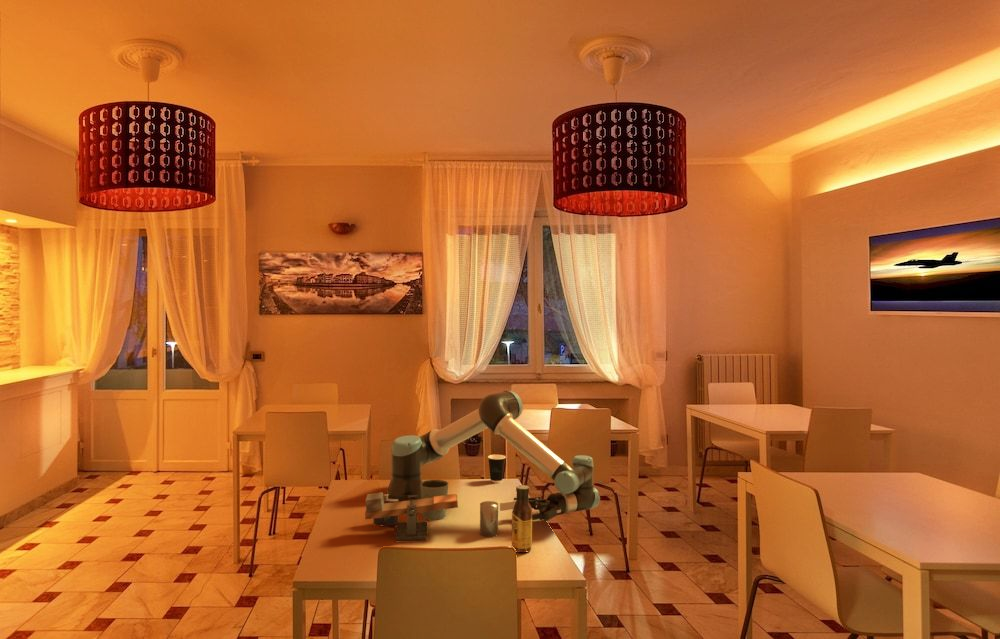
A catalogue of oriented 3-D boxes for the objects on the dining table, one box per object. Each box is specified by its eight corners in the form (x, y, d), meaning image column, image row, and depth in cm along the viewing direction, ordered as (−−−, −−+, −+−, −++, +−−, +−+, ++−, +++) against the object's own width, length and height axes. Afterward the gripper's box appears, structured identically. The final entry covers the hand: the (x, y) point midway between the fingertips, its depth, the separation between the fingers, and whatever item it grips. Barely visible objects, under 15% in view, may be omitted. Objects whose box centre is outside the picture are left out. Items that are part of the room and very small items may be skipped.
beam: (365, 520, 194) (363, 501, 193) (368, 511, 202) (366, 493, 202) (458, 508, 197) (456, 489, 197) (457, 500, 205) (455, 482, 205)
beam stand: (395, 541, 192) (395, 507, 192) (398, 526, 206) (398, 494, 206) (426, 540, 193) (427, 506, 193) (427, 525, 207) (427, 494, 207)
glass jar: (476, 535, 199) (476, 504, 199) (485, 529, 204) (486, 500, 204) (492, 538, 196) (492, 507, 196) (501, 532, 201) (501, 503, 201)
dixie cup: (491, 484, 259) (492, 459, 259) (484, 480, 266) (484, 455, 266) (508, 482, 262) (508, 457, 262) (500, 478, 269) (501, 453, 269)
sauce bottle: (510, 546, 189) (511, 483, 189) (530, 546, 189) (530, 483, 189) (512, 554, 182) (513, 489, 182) (533, 554, 183) (533, 489, 183)
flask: (399, 525, 208) (399, 494, 208) (396, 527, 205) (396, 496, 205) (375, 522, 210) (375, 491, 210) (371, 525, 207) (371, 494, 207)
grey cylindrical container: (436, 510, 224) (436, 478, 224) (454, 516, 217) (454, 483, 217) (414, 516, 217) (414, 483, 217) (431, 523, 210) (432, 488, 210)
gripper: (582, 524, 204) (530, 535, 193) (541, 504, 225) (492, 513, 215) (583, 502, 204) (531, 511, 193) (541, 484, 225) (492, 492, 215)
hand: (510, 512), depth 204 cm, fingers open, 13 cm apart
